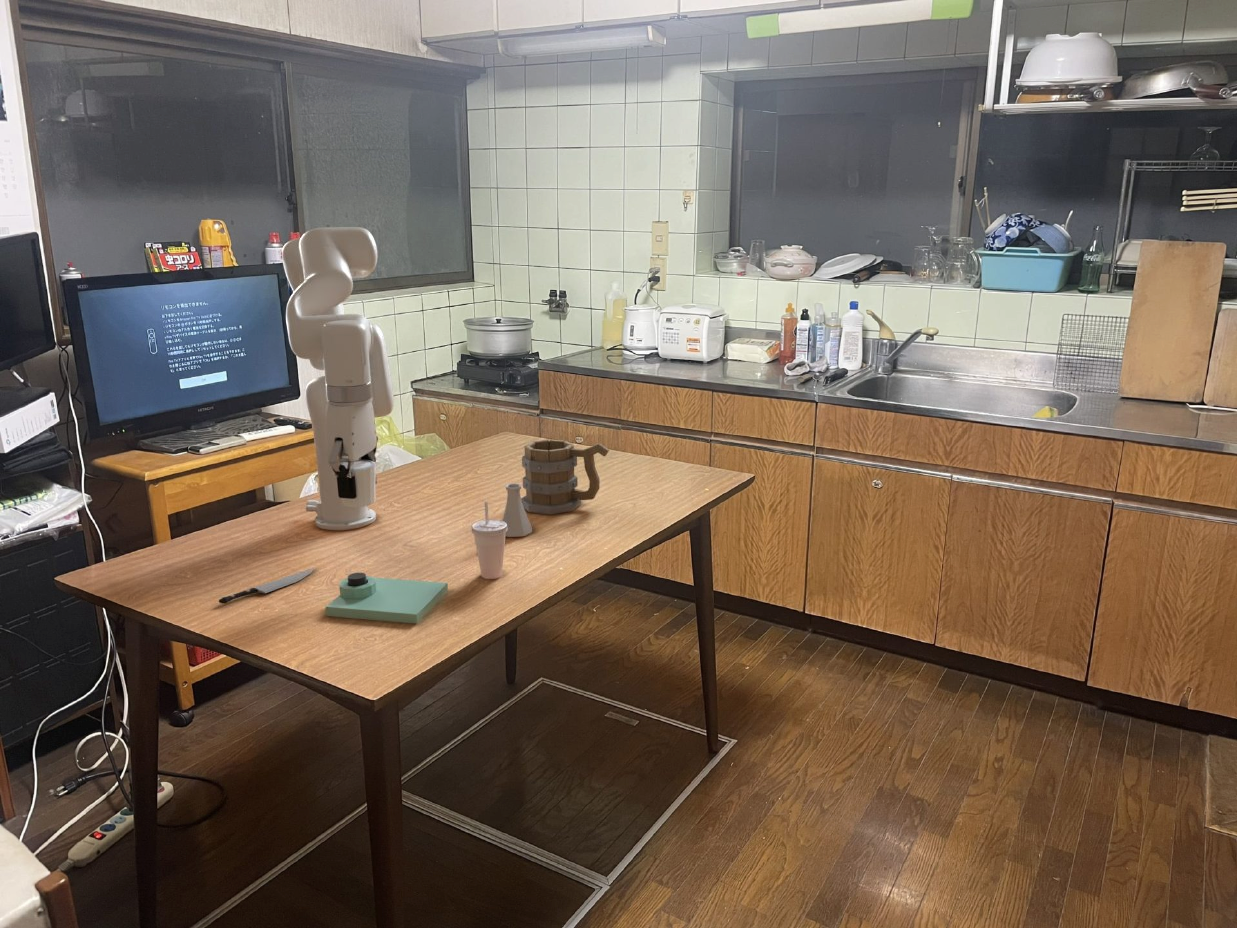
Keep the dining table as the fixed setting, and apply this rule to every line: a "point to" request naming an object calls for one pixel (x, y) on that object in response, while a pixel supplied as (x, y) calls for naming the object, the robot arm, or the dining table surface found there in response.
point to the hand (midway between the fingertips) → (358, 490)
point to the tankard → (557, 476)
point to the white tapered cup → (363, 483)
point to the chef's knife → (268, 586)
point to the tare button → (357, 579)
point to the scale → (387, 599)
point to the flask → (515, 513)
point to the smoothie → (490, 545)
